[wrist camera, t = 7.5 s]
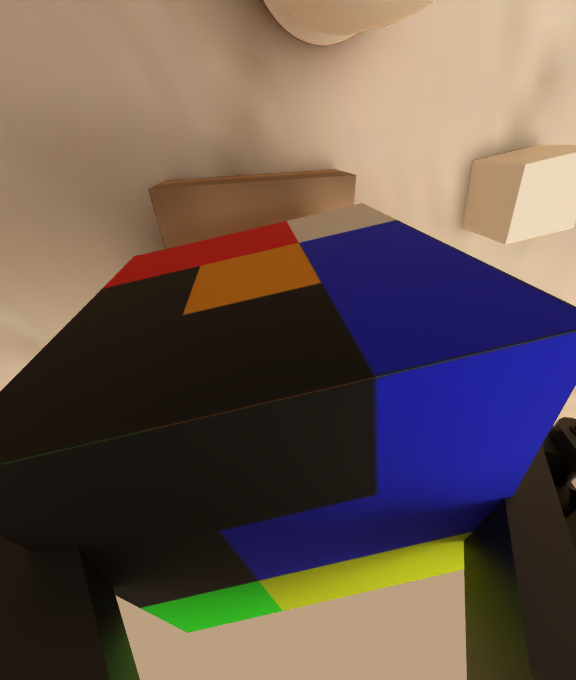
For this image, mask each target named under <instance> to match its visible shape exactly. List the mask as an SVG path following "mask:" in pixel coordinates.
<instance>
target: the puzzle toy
mask: <svg viewBox="0 0 576 680" xmlns="http://www.w3.org/2000/svg"><path fill="white" fill-rule="evenodd" d="M575 385H576V307H575V306H573V305H571V304H569V303H567V302H565V301H563V300H561V299H559V298H557V297H555V296H553V295H550V294H548V293H546V292H544V291H542V290H540V289H538V288H536V287H534V286H532V285H530V284H528V283H526V282H524V281H522V280H520V279H517V278H515V277H513V276H511V275H509V274H507V273H505V272H503V271H501V270H499V269H497V268H495V267H493V266H491V265H489V264H487V263H484V262H482V261H480V260H478V259H476V258H474V257H472V256H470V255H468V254H466V253H464V252H462V251H460V250H458V249H456V248H454V247H451V246H449V245H447V244H445V243H443V242H441V241H439V240H437V239H435V238H433V237H431V236H429V235H427V234H425V233H423V232H421V231H418V230H416V229H414V228H412V227H410V226H408V225H406V224H404V223H402V222H400V221H398V220H396V219H394V218H392V217H390V216H388V215H385V214H383V213H381V212H379V211H377V210H375V209H373V208H371V207H369V206H367V205H365V204H363V203H361V204H357V205H352V206H348V207H344V208H340V209H335V210H331V211H327V212H322V213H318V214H314V215H310V216H305V217H301V218H297V219H293V220H288V221H284V222H280V223H275V224H271V225H267V226H263V227H258V228H254V229H250V230H245V231H241V232H237V233H233V234H228V235H224V236H220V237H215V238H211V239H207V240H203V241H198V242H194V243H190V244H185V245H181V246H177V247H173V248H168V249H164V250H160V251H155V252H151V253H147V254H143V255H138V256H134V257H133V258H132V259H131V260H130V261H129V262H128V263H127V264H126V265H125V266H124V267H123V268H122V269H121V270H120V271H119V272H118V273H117V274H116V275H115V276H114V277H113V278H112V279H111V280H110V281H109V282H108V283H107V284H106V285H105V286H104V287H103V288H102V289H101V290H100V291H99V292H98V294H97V295H96V296H95V297H94V298H93V299H92V300H91V301H90V302H89V303H88V304H87V305H86V306H85V307H84V308H83V309H82V310H81V311H80V312H79V313H78V314H77V315H76V316H75V317H74V318H73V319H72V320H71V321H70V322H69V323H68V324H67V325H66V326H65V327H64V328H63V329H62V330H61V331H60V332H59V333H58V334H57V335H56V336H55V337H54V338H53V339H52V340H51V341H50V342H49V343H48V344H47V345H46V346H45V347H44V348H43V349H42V350H41V351H40V352H39V353H38V354H37V355H36V356H35V357H34V358H33V359H32V360H31V361H30V362H29V363H28V364H27V365H26V366H25V367H24V368H23V369H22V370H21V371H20V372H19V373H18V374H17V375H16V376H15V377H14V378H13V379H12V380H11V381H10V382H9V383H8V384H7V385H6V386H5V387H4V388H3V389H2V390H1V391H0V535H1V536H3V537H5V538H6V539H8V540H10V541H12V542H14V543H16V544H18V545H20V546H22V547H24V548H26V549H28V550H30V551H34V550H43V549H52V548H61V547H70V546H79V547H80V548H81V550H82V551H83V552H84V553H85V555H86V556H87V557H88V558H89V559H90V561H91V562H92V563H93V564H94V565H95V567H96V568H97V569H98V570H99V571H100V573H101V574H102V575H103V576H104V578H105V579H106V580H107V581H108V582H109V584H110V585H111V586H112V587H113V589H114V593H115V595H116V596H118V597H120V598H122V599H124V600H126V601H128V602H130V603H132V604H133V605H135V606H137V607H139V608H141V609H143V610H145V611H147V612H149V613H151V614H153V615H155V616H157V617H159V618H160V619H162V620H164V621H166V622H168V623H170V624H172V625H174V626H176V627H178V628H180V629H182V630H183V631H185V632H192V631H197V630H201V629H205V628H210V627H214V626H218V625H223V624H227V623H232V622H236V621H240V620H245V619H249V618H254V617H258V616H262V615H267V614H271V613H275V612H280V611H284V610H288V609H293V608H297V607H302V606H306V605H310V604H315V603H319V602H323V601H328V600H331V599H336V598H340V597H345V596H350V595H354V594H358V593H362V592H367V591H371V590H375V589H380V588H384V587H389V586H393V585H398V584H402V583H406V582H411V581H415V580H419V579H424V578H428V577H432V576H437V575H441V574H445V573H450V572H454V571H459V570H463V569H464V540H465V539H466V538H467V537H468V536H469V535H470V534H471V533H472V532H473V531H474V530H475V529H476V528H477V527H478V525H479V524H480V523H481V522H482V521H483V520H484V519H485V518H486V517H487V516H488V515H489V514H490V513H491V512H492V511H493V510H494V508H495V507H496V506H497V505H498V504H499V503H500V502H501V501H502V500H503V499H504V498H507V497H513V495H514V494H515V492H516V490H517V488H518V487H519V485H520V483H521V481H522V479H523V478H524V476H525V474H526V472H527V471H528V469H529V467H530V465H531V463H532V462H533V460H534V458H535V456H536V455H537V453H538V451H539V449H540V447H541V446H542V444H543V442H544V440H545V439H546V437H547V435H548V433H549V431H550V430H551V428H552V426H553V424H554V423H555V421H556V419H557V417H558V415H559V414H560V412H561V410H562V408H563V407H564V405H565V403H566V401H567V399H568V398H569V396H570V394H571V392H572V391H573V389H574V387H575Z"/></svg>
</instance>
